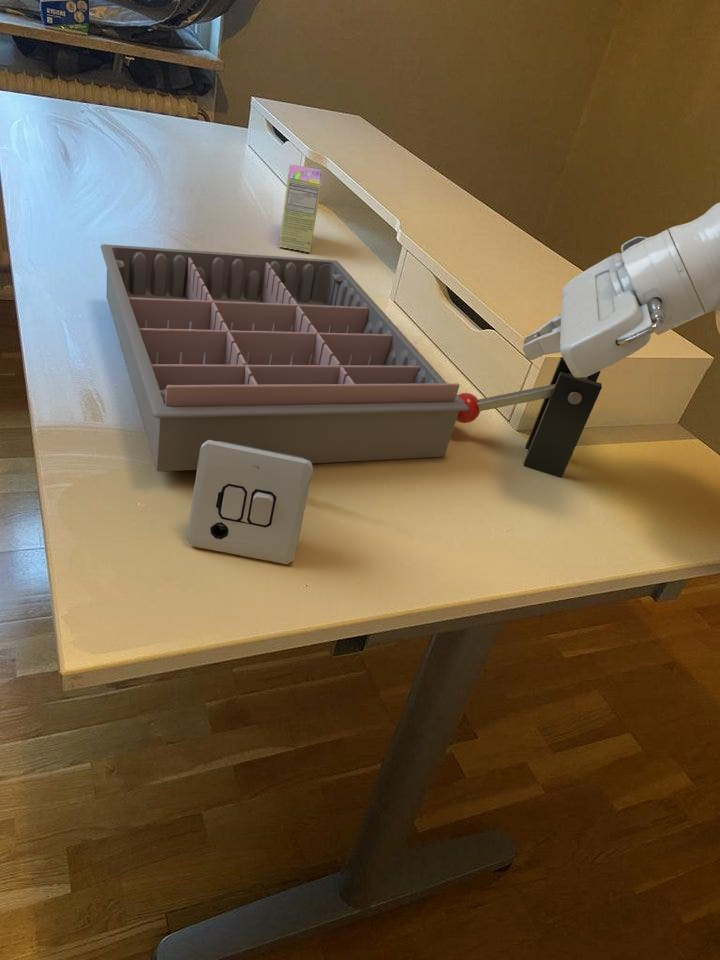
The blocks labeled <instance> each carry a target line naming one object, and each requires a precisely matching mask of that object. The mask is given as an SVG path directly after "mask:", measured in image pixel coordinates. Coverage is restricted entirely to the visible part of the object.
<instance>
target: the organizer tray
mask: <svg viewBox="0 0 720 960" xmlns="http://www.w3.org/2000/svg"><path fill="white" fill-rule="evenodd" d="M100 250H101V253H102V256H103V260H104V263H105V266H106V300H107V303H108V306H109V310H110V313H111V317H112V321H113V324H114V328H115V331H116V336H117V337H118V342H119V345H120V348H121V352H122V356H123V359H124V362H125V366H126V368H127V373H128V377H129V379H130V384H131V387H132V390H133V395H134V398H135V400H136V404H137V408H138V411H139V414H140V419H141V421H142V425H143V428H144V432H145V435H146V439H147V442H148V445H149V449H150V453H151V457H152V461H153V463H154V466H155V470H156V472H157V473H159V472H176V471H178V472H179V471H197V467H198V460H199V454H200V448H201V446H202V444H203V443H204V442H206V441H208V440H212V441H218V440H219V441H224V442H229V443H234V444H238V445H243V446H248V447H253V448H258V449H263V450H268V451H273V452H278V453H283V454H288V455H293V456H298V457H303V458H304V459H306V460H309V461H311V463H312V464H329V463H346V462H347V463H348V462H362V461H383V460H385V461H386V460H400V459H402V460H404V459H421V458H422V459H423V458H441V457H445V456H446V452H447V450H448V447H449V444H450V440H451V438H452V434H453V431H454V428H455V425H456V423H457V417H458V413H459V411H468V410H469V407H468V406H467V405H466V404H465V403H464V402H463V400H462V399H461V398H460V397H459V396H458V395H459V394H458V393H459V389H460V383H457V382H456V383H455V382H454V383H448V382H446V380H445V379H444V378H443V377H442V376H441V375H440V373H439V372H438V371H437V369H435V368H434V367H433V365H432V364H431V363H430V362H429V361H428V360H427V359H426V358H425V357H424V355H422V353H421V352H420V351H419V350H418V349H417V348H416V347H415V346H414V344H413V343H412V342H411V341H410V340H409V339H408V338H407V337H406V335H405V334H404V333H403V332H402V331H401V330H400V329H399V328H398V327H397V326H396V324H395V323H394V322H393V321H392V319H390V318H389V316H387V314H386V313H385V312H384V311H383V310H382V309H381V308H380V307H379V306H378V304H377V303H376V302H375V301H374V300H373V299H372V298H371V297H370V295H369V294H368V293H367V292H366V291H365V290H364V288H363V287H362V286H361V285H360V284H359V283H358V282H357V281H356V280H355V279H354V277H353V276H352V275H351V274H350V273H349V272H348V271H347V270H346V269H345V267H344V266H343V265H342V264H341V263H340V262H339V261H338V260H334V259H321V258H320V259H319V258H307V257H306V258H305V257H295V256H294V257H293V256H292V257H291V256H278V255H277V256H276V255H266V254H265V255H264V254H248V253H236V252H235V253H234V252H222V251H221V252H220V251H206V250H193V249H192V250H191V249H177V248H166V247H165V248H163V247H150V246H149V247H148V246H134V245H119V244H106V243H105V244H104V243H102V244H101V245H100Z"/></svg>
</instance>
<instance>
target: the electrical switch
mask: <svg viewBox="0 0 720 960" xmlns="http://www.w3.org/2000/svg"><path fill="white" fill-rule="evenodd" d="M313 473H314V466H313V463H311V461H309V460H306V459H304V458H303V457H298V456H293V455H288V454H283V453H278V452H273V451H268V450H263V449H258V448H253V447H248V446H243V445H238V444H234V443H229V442H224V441H219V440H218V441H212V440H208V441H206V442H204V443H203V444H202V446H201V448H200V454H199V460H198V467H197V470H196V473H195V480H194V486H193V492H192V493H193V494H192V500H191V507H190V513H189V521H188V526H187V527H188V528H187V532H186V541H187V543H188V544H189V545H190V546H191V547H195V548H198V549H199V548H200V549H206V550H211V551H215V552H216V551H217V552H219V553H220V552H221V553H227V554H231V555H237V556H242V557H248V558H252V559H258V560H263V561H269V562H274V563H279V564H285V565H287V564H290V563H292V562H293V561H294V560H295V558H296V554H297V552H298V545H299V541H300V534H301V531H302V525H303V521H304V516H305V515H304V514H305V509H306V504H307V499H308V494H309V489H310V485H311V481H312V478H313Z"/></svg>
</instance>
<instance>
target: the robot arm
mask: <svg viewBox="0 0 720 960" xmlns="http://www.w3.org/2000/svg"><path fill="white" fill-rule="evenodd" d="M620 251H621V252H617V253H616V252H615V253H614V254H612V255H610V256H607V257H606V258H604V259H602V260H600V261H599V262H597V263H596V264H594V265H592V266H590V267H589V268H587V269H586V270H584V271H582V272H581V273H579V274H577V275H576V276H574V277H573V278H571V279H570V280H569V281H568V282H567V283H565V284H564V285H563V286H562V288H561V301H560V303H561V304H560V305H561V306H560V313H559V314H557V315H555V316H553V317H551V318H550V319H549V320H548V321H547V322H545V323H543V325H542V326H540V327H539V328H538V329H536V330H535V331H533V332H530V333H529V334H526V335H525V336H524V339H523V345H522V351H523V354H524V355H525V357H526V359H527V360H529V361H534V360H536V359H538V358H540V357H543V356H545V355H552V354H557V353H560V355H561V357H563V358H564V360H565V362H566V364H567V366H568V368H569V370H570V371H571V373H572V375H573V376H574V377H575V378H581V377H587V376H590V375H592V374H594V373H596V372H598V371H600V372H601V371H603V370H604V369H606V368H608V367H610V366H612V365H615V364H617V363H619V362H620V361H622V360H623V359H626V358H628V357H629V356H631V355H634V354H635V353H637V352H638V351H640V350H641V349H642V348H644V347H645V346H646V345H647V344H648V343H649V342H650V340H651V338H652V337H651V336H652V334H654V333H655V334H656V335H657V336H659V335H662V334H663V333H666V332H668V331H671V330H673V329H675V328H677V327H680V326H682V325H684V324H685V323H688V322H690V321H692V320H694V319H697V318H699V317H702V316H703V315H706V314H708V313H711V312H713V311H715V324H716V327H717V328H716V329H717V332H718V335H720V201H719V202H718V203H715V204H714V205H712V206H711V207H710V208H709V209H708V210H707V211H705V212H704V213H703V214H702V215H700V216H699V217H697V218H695V219H694V220H691V221H689V222H686V223H681V224H678V225H674V226H671V227H669V228H667V229H665V230H663V231H661V232H659V233H657V234H655V235H652V236H649V237H645V236H635V237H633V238H632V239H629V240H628V241H626V242H624V243H623V244H621V247H620Z"/></svg>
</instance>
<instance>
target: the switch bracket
mask: <svg viewBox="0 0 720 960" xmlns="http://www.w3.org/2000/svg"><path fill="white" fill-rule="evenodd" d="M568 373H571V371H570V370H569V368H568V366H567V364H566V362H565V360H564V358H563V356H561V357H560V358H559V360H558V363H557V365H556V368H555V369H554V373H553V375H552V377H551V380H550V382H549V385H553V384H555V386H554V389H553V391H552V393H551V396H550V398H545V399H542V402H541V405H540V408H539V410H538V413H537V415H536V418H535V421H534V423H533V425H532V428H531V430H530V433H529V436H528V438H527V440H526V443H525V446H524V447H525V448H524V449H525V450H527V453H526V456H525V458H524V460H523V467H525V468H527V469H531V470H534V471H538V472H541V473H544V474H547V475H551V476H554V477H557V478H561V479H562V478H563V476H564V474H565V471H566V469H567V467H568V465H569V462H570V460H571V458H572V455H573V454H574V451H575V449H576V447H577V445H578V442H579V440H580V437H581V436H582V433H583V431H584V429H585V427H586V425H587V422H588V420H589V418H590V416H591V413H592V411H593V408H594V406H595V404H596V402H597V399H598V397H599V395H600V393H601V391H602V390H603V389H602V388H603V384H602V383H601V382H599V381H598V379H599V376H600V374H601V370H600V371H598V372H596V373H594V374H592V375H590V376H587V378H588V379H585V378H575V377H574V376H573V375H571V374H568Z"/></svg>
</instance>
